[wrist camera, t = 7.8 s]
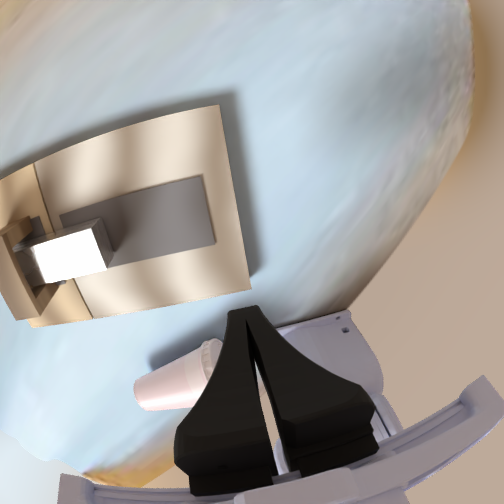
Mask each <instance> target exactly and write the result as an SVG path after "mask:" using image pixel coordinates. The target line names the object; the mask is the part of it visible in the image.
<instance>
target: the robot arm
mask: <svg viewBox="0 0 504 504" xmlns="http://www.w3.org/2000/svg"><path fill="white" fill-rule="evenodd" d="M338 316H339V317H338ZM254 359H255V360H254ZM255 362H256V364H257V367H258V370H259V373H260V375H261V378H262V381H263V383H264V386H265V389H266V391H267V394H268V397H269V400H270V403H271V406H272V410H273V414H274V418H275V421H276V425H277V429H278V432H279V436H280V438H278V439H277V441H276V445H275V447H274V453H273V450H272V446H271V442H270V439H269V435H268V431H267V427H266V423H265V419H264V415H263V411H262V407H261V402H260V396H259V389H258V382H257V374H256V367H255ZM382 392H383V374H382V371H381V367H380V364H379V362H378V360H377V358H376V356H375V354H374V353H373V351H372V350H371V348H370V346H369V345H368V343H367V342H366V340H365V339H364V338H363V336H362V334H361V333H360V332H359V330H358V329H357V327H356V326H355V324H354V323H353V321H352V320H351V312H350V311H349V310H344V311H341V312H337V313H334V314H330V315H327V316H323V317H319V318H316V319H312V320H308V321H304V322H301V323H297V324H293V325H289V326H285V327H281V328H277V329H275V328H274V327H273V326H272V324H271V323H270V322H269V321H268V319H267V318H266V317H265V316H264V314H263V313H262V311H261V309H260V308H259V306H257V305H254V306H250V307H245V308H241V309H236V310H231V311H229V312H228V319H227V327H226V332H225V337H224V341H223V345H222V348H221V351H220V354H219V357H218V360H217V363H216V365H215V368H214V370H213V373H212V375H211V377H210V379H209V381H208V383H207V385H206V387H205V389H204V390H203V392H202V394H201V395H200V397H199V399H198V400H197V402H196V403H195V405H194V406H193V408H192V409H191V411H190V412H189V413H188V414H187V416H186V417H185V418H184V419H183V421H182V422H181V423H180V424H179V426H178V427H177V430H176V434H175V440H174V463H175V464H176V466H177V467H179V468H180V469H181V470H182V471H183V472H185V473H186V474H187V475H188V476H189V485H190V488H167V489H166V488H161V489H160V488H156V489H155V488H131V487H117V486H107V485H99V484H94V483H92V482H91V481H90V480H88V479H86V478H83V477H79V476H74V475H68V474H63V473H62V474H61V477H60V483H59V492H58V502H57V504H409V501H408V499H407V497H406V495H405V493H404V491H406V490H408V489H410V488H411V487H413V486H415V485H417V484H419V483H420V482H422V481H424V480H425V479H427V478H428V477H430V476H432V475H433V474H435V473H436V472H438V471H439V470H441V469H442V468H444V467H445V466H447V465H448V464H450V463H451V462H452V461H454V460H455V459H457V458H458V457H459V456H461V455H462V454H463V453H465V452H466V451H467V450H469V449H470V448H471V447H473V446H474V445H475V444H476V443H478V442H479V441H480V440H481V439H482V438H484V437H485V436H486V435H487V434H488V433H489V432H490V431H491V430H492V429H493V428H494V427H495V426H496V425H497V424H498V423H499V422H500V421H501V420H502V419H503V418H504V400H503V399H502V397H501V396H500V395H499V394H498V392H497V391H496V390H495V388H494V387H493V386H492V385H491V383H490V382H489V381H488V380H487V378H486V377H485V376H484V375H482V376H481V377H479V378H478V379H476V380H475V381H474V382H472V383H471V384H469V385H468V386H467V387H466V388H465V389H464V390H463V392H462V393H461V394H460V396H459V398H458V399H456V400H455V401H453V402H452V403H450V404H449V405H447V406H446V407H444V408H442V409H441V410H439V411H437V412H436V413H434V414H432V415H431V416H429V417H428V418H426V419H424V420H422V421H420V422H418V423H416V424H415V425H413V426H411V427H409V428H407V429H405V430H403V427H402V425H401V423H400V421H399V419H398V417H397V416H396V414H395V412H394V410H393V408H392V407H391V405H390V404H389V402H388V401H387V399H386V398H385V397H384V395H382Z"/></svg>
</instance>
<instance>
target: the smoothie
mask: <svg viewBox="0 0 504 504" xmlns="http://www.w3.org/2000/svg"><path fill="white" fill-rule="evenodd" d="M222 345H223V343H222V342H221V341H220V340H219V339H216V338H213V339H211V340H208V341H204V342H203V343H202V345H201V347H200V348H198V349H196V350H194V351H192V352H190V353H188V354H186V355H184V356H182V357H180V358H178V359H176V360H174V361H173V362H171V363H169V364H167V365H165V366H163V367H161V368H158V369H156V370H154V371H152V372H150V373H148V374H146V375H144V376H142V377H140V378H138V379H137V380H136V381H135V383H134V395H135V398H136V400H137V402H138V403H139V405H140V406H141V407H142V408H143V409H145V410H147V411H156V410H168V409H178V408H188V407H193V406H194V405H195V403H196V402H197V400H198V399H199V397H200V395H201V394H202V392H203V390H204V389H205V387H206V385H207V383H208V381H209V379H210V377H211V375H212V373H213V370H214V368H215V365H216V363H217V360H218V357H219V354H220V351H221V348H222ZM254 360H255V359H254Z"/></svg>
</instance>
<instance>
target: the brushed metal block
mask: <svg viewBox="0 0 504 504" xmlns="http://www.w3.org/2000/svg"><path fill="white" fill-rule="evenodd" d="M12 249H13V251H14V254H15V256H16V258H17V261H18V263H19V265H20V267H21V270H22V272H23V274H24V276H25V278H26V280H27V282H28V284H29V286H30V287H34V286H38V285H42V284H47V283H51V282H55V281H59V280H64V279H68V278H72V277H77V276H81V275H85V274H90V273H94V272H98V271H103V270H107V268H108V266H109V264H110V262H111V261H112V259H113V257H114V255H115V254H114V252H113V249H112V246H111V243H110V241H109V238H108V235H107V232H106V229H105V226H104V223H103V220H102V217H100V218H96V219H93V220H89V221H86V222H83V223H80V224H76V225H73V226H70V227H67V228H64V229H60V230H57V231H54V232H51V233H48V234H45V235H42V236H39V237H36V238H34V239H31V240H28V241H25V242H22V243H20V244H17V245H15V246H14V247H13V248H12Z"/></svg>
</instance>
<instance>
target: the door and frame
mask: <svg viewBox="0 0 504 504" xmlns="http://www.w3.org/2000/svg"><path fill="white" fill-rule="evenodd" d="M100 217H102V220H103V223H104V226H105V229H106V232H107V235H108V238H109V241H110V243H111V246H112V249H113V252H114V254H115V255H114V257H113V259H112V261H111V262H110V264H109V266H108V268H107V270H103V271H98V272H94V273H90V274H85V275H81V276H77V277H72V278H68V279H64V280H59V281H55V282H51V283H47V284H42V285H38V286H34V287H30V286H29V284H28V282H27V280H26V278H25V276H24V274H23V272H22V270H21V267H20V265H19V263H18V261H17V258H16V256H15V254H14V251H13V249H12V248H13V247H14V246H15V245H17V244H20V243H22V242H25V241H28V240H31V239H34V238H36V237H39V236H42V235H45V234H48V233H51V232H54V231H57V230H60V229H64V228H67V227H70V226H73V225H76V224H80V223H83V222H86V221H89V220H93V219H96V218H100ZM250 289H252V288H251V283H250V277H249V272H248V266H247V261H246V255H245V250H244V244H243V239H242V233H241V227H240V222H239V216H238V210H237V205H236V199H235V193H234V188H233V182H232V176H231V171H230V165H229V159H228V153H227V147H226V142H225V136H224V130H223V124H222V118H221V112H220V107H219V104H218V105H213V106H207V107H202V108H197V109H192V110H188V111H183V112H179V113H174V114H170V115H166V116H162V117H158V118H154V119H151V120H147V121H143V122H140V123H136V124H133V125H130V126H126V127H123V128H120V129H117V130H114V131H111V132H108V133H105V134H102V135H99V136H96V137H94V138H91V139H88V140H85V141H83V142H80V143H78V144H75V145H73V146H70V147H68V148H65V149H63V150H60V151H58V152H56V153H53V154H51V155H49V156H47V157H45V158H42V159H40V160H38V161H36V162H34V163H32V164H30V165H28V166H26V167H24V168H22V169H20V170H18V171H16V172H14V173H12V174H10V175H8V176H7V177H5V178H3V179H1V180H0V292H1V294H2V296H3V298H4V300H5V302H6V303H7V305H8V307H9V309H10V311H11V312H12V314H13V316H14V317H15V319H16V320H23V319H27V320H28V322H29V323H30V325H31V327H32V328H35V327H43V326H50V325H57V324H64V323H71V322H77V321H84V320H90V319H93V317H94V319H97V318H103V317H109V316H115V315H121V314H127V313H132V312H138V311H144V310H149V309H155V308H160V307H166V306H171V305H176V304H181V303H186V302H192V301H197V300H202V299H207V298H212V297H216V296H221V295H226V294H231V293H236V292H240V291H245V290H250Z"/></svg>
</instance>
